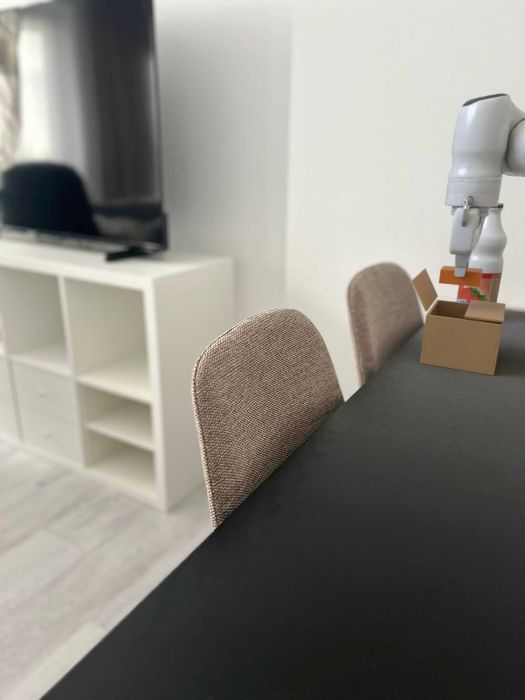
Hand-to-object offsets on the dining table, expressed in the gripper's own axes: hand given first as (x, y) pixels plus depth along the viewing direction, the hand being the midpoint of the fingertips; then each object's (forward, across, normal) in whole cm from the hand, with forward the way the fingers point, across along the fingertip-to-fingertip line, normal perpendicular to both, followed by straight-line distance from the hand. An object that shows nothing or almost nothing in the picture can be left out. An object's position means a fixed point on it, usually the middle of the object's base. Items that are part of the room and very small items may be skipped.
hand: (461, 273), depth 95 cm
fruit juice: (+17, +36, -2) cm, 40 cm away
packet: (+2, 0, 0) cm, 2 cm away
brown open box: (+17, +1, -2) cm, 17 cm away
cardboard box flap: (+4, +1, +6) cm, 7 cm away
